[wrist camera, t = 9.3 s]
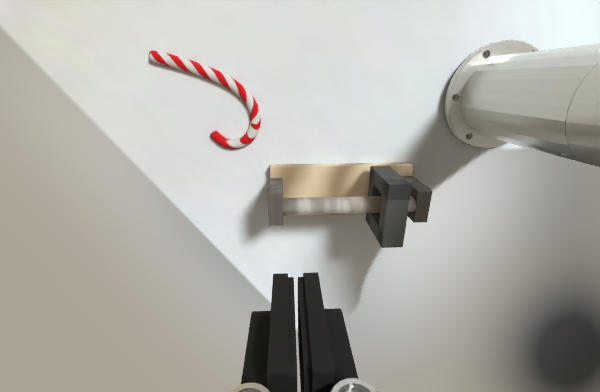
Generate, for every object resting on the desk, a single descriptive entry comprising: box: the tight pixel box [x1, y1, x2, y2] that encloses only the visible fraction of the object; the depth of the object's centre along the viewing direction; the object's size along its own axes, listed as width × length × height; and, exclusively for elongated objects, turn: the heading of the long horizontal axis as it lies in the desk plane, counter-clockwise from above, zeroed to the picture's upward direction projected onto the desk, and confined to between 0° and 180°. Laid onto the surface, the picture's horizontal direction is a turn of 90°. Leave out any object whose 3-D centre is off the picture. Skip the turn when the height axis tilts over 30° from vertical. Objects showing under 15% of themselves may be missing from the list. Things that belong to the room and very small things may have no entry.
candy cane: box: [149, 50, 261, 149], centre depth 35 cm, size 8×1×15 cm
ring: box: [366, 166, 412, 248], centre depth 35 cm, size 2×8×7 cm, turn 0°
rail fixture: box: [268, 163, 432, 226], centre depth 37 cm, size 19×7×7 cm, turn 90°
